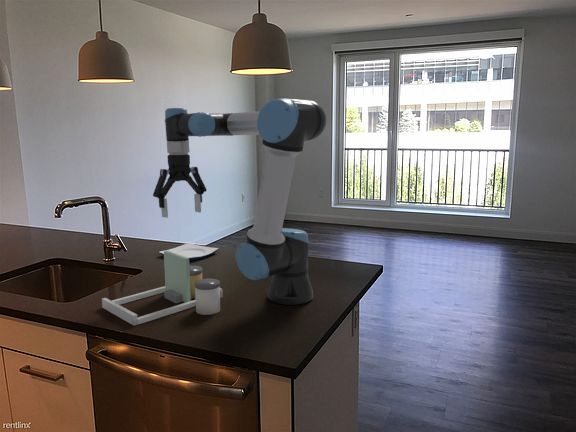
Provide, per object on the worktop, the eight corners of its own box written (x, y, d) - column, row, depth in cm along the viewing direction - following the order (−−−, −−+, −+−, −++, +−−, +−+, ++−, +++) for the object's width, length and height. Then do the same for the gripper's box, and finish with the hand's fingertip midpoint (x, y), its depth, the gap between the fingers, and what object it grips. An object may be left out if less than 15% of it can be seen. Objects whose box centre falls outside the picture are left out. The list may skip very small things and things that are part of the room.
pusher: (190, 302, 155) (189, 258, 152) (181, 305, 153) (179, 260, 150) (168, 293, 164) (166, 250, 161) (159, 295, 162) (157, 252, 159)
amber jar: (208, 294, 163) (207, 269, 161) (187, 300, 157) (186, 274, 156) (194, 288, 169) (193, 264, 167) (173, 294, 163) (172, 269, 161)
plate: (190, 264, 199) (190, 258, 198) (155, 257, 209) (155, 251, 209) (222, 253, 216) (222, 247, 215) (188, 247, 226) (188, 242, 226)
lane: (222, 297, 160) (222, 288, 160) (134, 325, 138) (133, 315, 137) (188, 283, 174) (187, 275, 173) (102, 307, 151) (101, 298, 151)
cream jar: (225, 310, 149) (225, 282, 148) (205, 317, 144) (204, 288, 142) (210, 303, 155) (209, 276, 153) (190, 310, 149) (189, 282, 148)
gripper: (202, 152, 177) (205, 209, 181) (139, 155, 160) (144, 218, 163) (214, 152, 172) (217, 211, 175) (151, 155, 155) (155, 220, 158)
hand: (182, 214), depth 169 cm, fingers open, 13 cm apart
